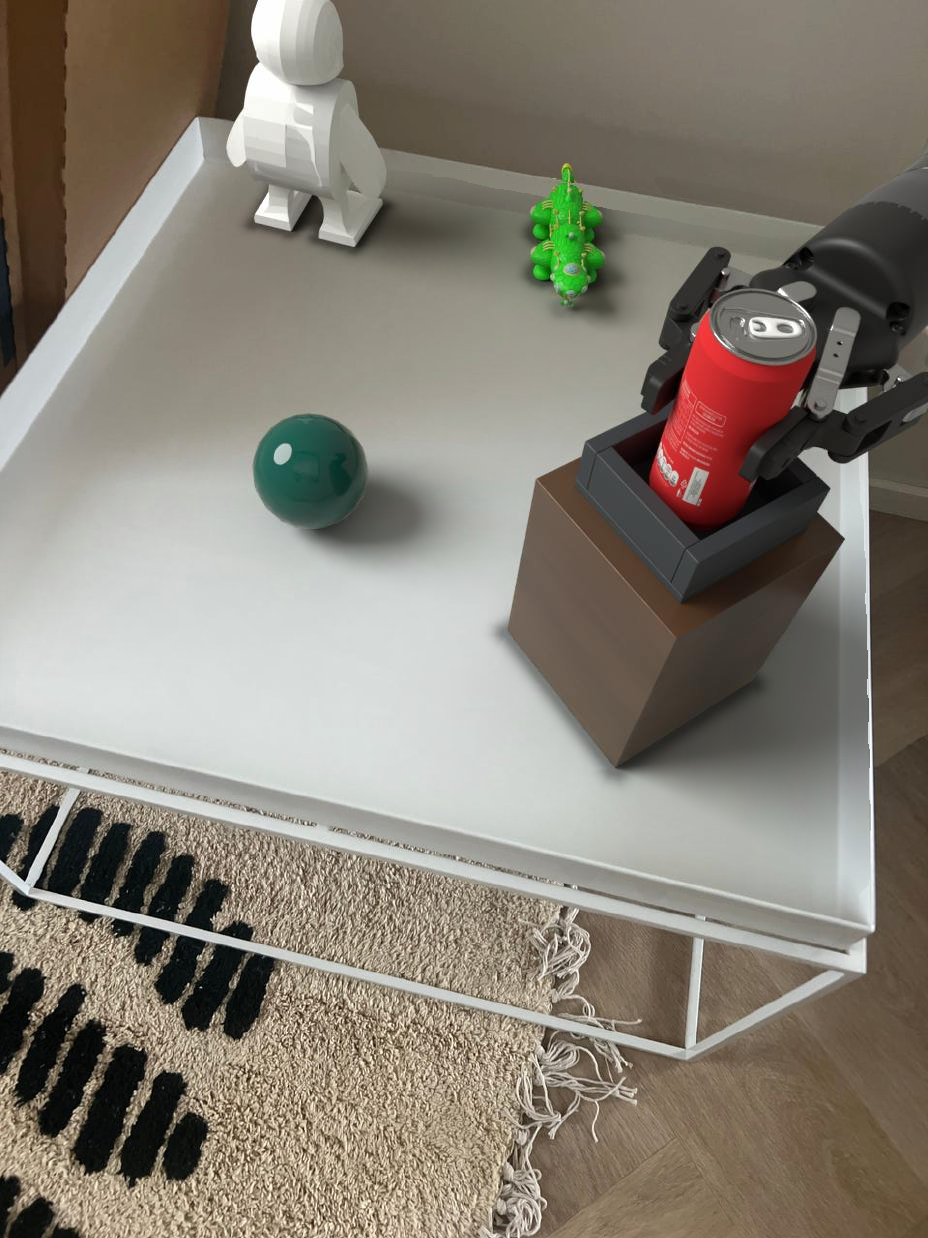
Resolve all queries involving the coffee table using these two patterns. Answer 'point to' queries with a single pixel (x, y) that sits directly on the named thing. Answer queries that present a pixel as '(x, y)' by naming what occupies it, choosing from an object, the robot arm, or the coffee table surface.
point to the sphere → (310, 471)
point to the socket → (657, 534)
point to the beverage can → (730, 402)
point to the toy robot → (306, 124)
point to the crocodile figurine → (566, 239)
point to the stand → (645, 620)
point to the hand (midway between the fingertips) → (699, 431)
